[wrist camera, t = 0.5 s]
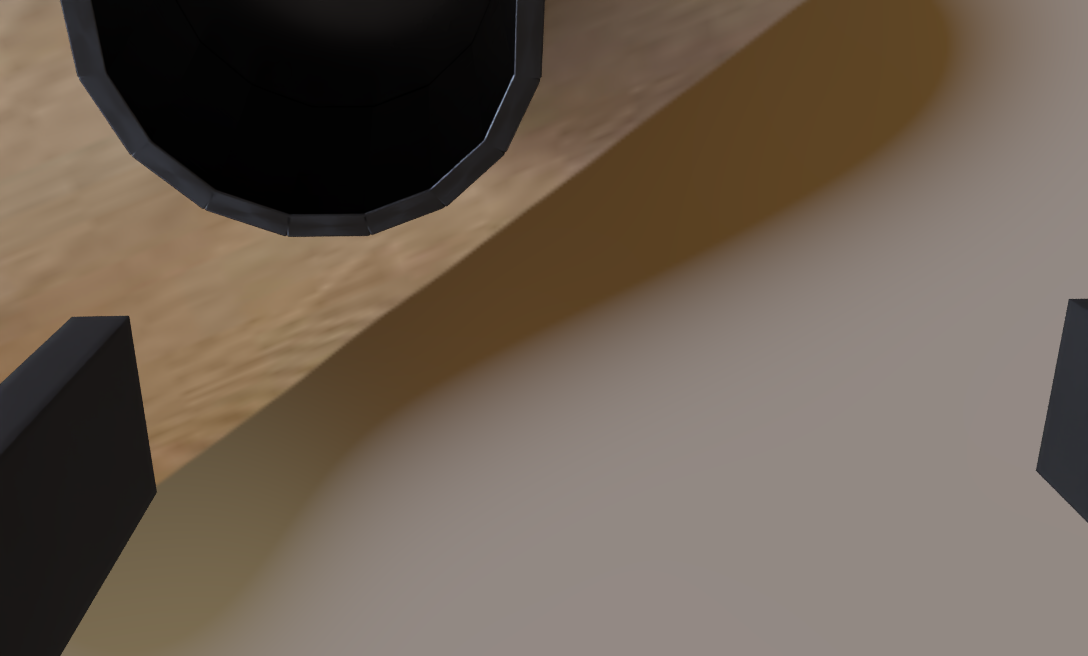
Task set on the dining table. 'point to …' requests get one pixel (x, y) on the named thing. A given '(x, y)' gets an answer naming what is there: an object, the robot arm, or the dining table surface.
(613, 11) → the dining table surface
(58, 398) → the robot arm
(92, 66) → the pot
